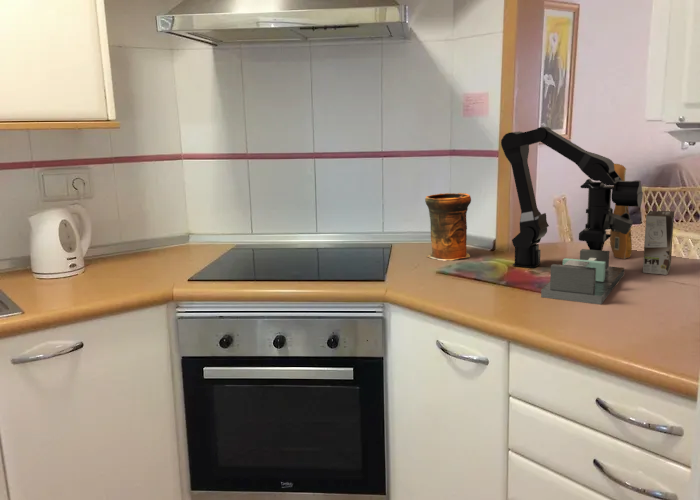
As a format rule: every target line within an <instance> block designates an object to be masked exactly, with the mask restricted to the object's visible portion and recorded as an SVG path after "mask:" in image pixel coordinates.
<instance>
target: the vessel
mask: <svg viewBox="0 0 700 500" xmlns="http://www.w3.org/2000/svg"><path fill="white" fill-rule="evenodd" d="M424 200H425V202H424V203H425V204H426V206H427V208H428V209H427V210H428V214H429V222H430V243H431V251H432V253H430V254H429V255H427V256H426V257H427V258H429V259H435V260H438V261H444V262H445V261H454V260H455V261H456V260H459V259H469V258H470V257H471V255H470V254H469V253H468V252H467V240H468V239H467V236H468V235H467V232H468V231H467V229H468V223H467V212H468V209H469V206H470V205H471V202H472V197H471V195H470V194H468V193H466V192H465V193H464V192H463V193H462V192H458V193H451V192H450V193H449V192H447V193H445V192H444V193H437V194H436V193H435V194H430V195H427V196H425V198H424Z"/></svg>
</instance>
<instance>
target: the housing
mask: <svg viewBox="0 0 700 500" xmlns="http://www.w3.org/2000/svg"><path fill="white" fill-rule="evenodd" d="M564 265H568V266H578V267H589V268H590V262H584V261H573V260H569V261H567V262H566V263H565V264H564Z"/></svg>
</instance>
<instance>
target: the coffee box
mask: <svg viewBox="0 0 700 500" xmlns="http://www.w3.org/2000/svg"><path fill="white" fill-rule="evenodd" d="M645 216H646V217H645V218H646V219H645V229H644V247H643V249H644V250H643V261H642V262H643V263H642V273H645V274H654V275H655V274H656V275H665V276H667V275H668V274H669V272H670V269H671V265H672V250H673V249H672V248H673V236H674V234H673V233H674V222H675V221H674V220H675V211H674V210H672V211H671V210H649V212H648V213H647V214H646V215H645Z"/></svg>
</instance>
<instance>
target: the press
mask: <svg viewBox="0 0 700 500" xmlns="http://www.w3.org/2000/svg"><path fill="white" fill-rule="evenodd" d="M624 275H625V267H622V266H621V267H620V266H609V267H608V268H607V269H605V280H604V281H603V282H601V281H595V280H596V268H589V267H578V266H568V265H563V264H556V263H552V264H551V265H550V276H549V278H550V280H549V282H548V283H547V284H546V285H544V287H542V288H541V290H540V292H541V293H540V294H541V295H540V298H547V299H553V300H554V299H555V300H563V301H570V302H579V303H586V304H587V303H588V304H595V305H602V304H603V303H604V301H605V300H606V299H607V297H608V296H610V294H611V293H612V291H613V290H614V289H615V287H616V286H617V285H618V284H619V282H620V281H621V279H622V278H623V277H624Z"/></svg>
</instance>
